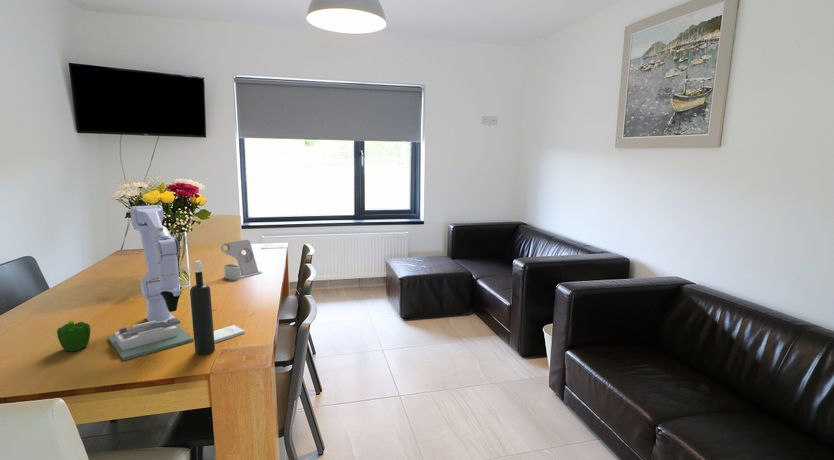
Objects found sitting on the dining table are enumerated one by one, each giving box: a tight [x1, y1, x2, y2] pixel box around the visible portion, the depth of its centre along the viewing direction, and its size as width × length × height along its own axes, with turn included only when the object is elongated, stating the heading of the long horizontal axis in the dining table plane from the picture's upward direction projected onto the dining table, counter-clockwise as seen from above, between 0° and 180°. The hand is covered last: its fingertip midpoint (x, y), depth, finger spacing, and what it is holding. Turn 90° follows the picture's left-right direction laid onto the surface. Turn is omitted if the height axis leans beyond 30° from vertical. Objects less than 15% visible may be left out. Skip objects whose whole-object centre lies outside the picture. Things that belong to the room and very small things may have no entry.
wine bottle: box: [189, 260, 216, 356], centre depth 134 cm, size 6×6×30 cm
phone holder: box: [220, 239, 263, 281], centre depth 224 cm, size 17×10×18 cm, turn 147°
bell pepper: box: [56, 320, 91, 352], centre depth 137 cm, size 8×8×10 cm
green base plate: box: [107, 320, 194, 361], centre depth 144 cm, size 22×20×6 cm
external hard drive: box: [214, 324, 246, 344], centre depth 149 cm, size 2×8×12 cm
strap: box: [122, 317, 181, 335], centre depth 145 cm, size 16×4×1 cm, turn 136°
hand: (172, 311), depth 149 cm, fingers closed
